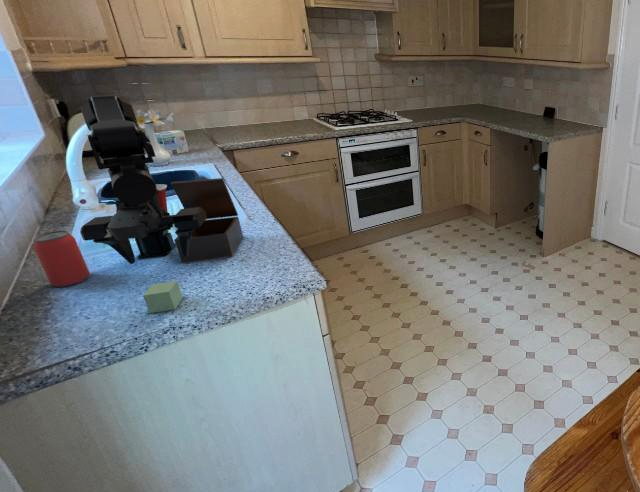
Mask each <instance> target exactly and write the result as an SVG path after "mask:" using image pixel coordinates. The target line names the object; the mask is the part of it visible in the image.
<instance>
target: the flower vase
mask: <svg viewBox="0 0 640 492" xmlns="http://www.w3.org/2000/svg"><path fill="white" fill-rule="evenodd" d="M173 114H174V112H171V113H170V115H169V116H168V117H167V116H163V115H162V111H161V110H159V109H157V110H155V111H153V110H152V109H148V110H147V113H146V112H145V111H142V110H140V109H137V110H136V114H135V116H136V119H137V123H138V127H139V128H140V129H141V130H143V129H144V130H143V131H144V133H145V134H146V135H148V136H149V139H150V142H151V144H152V147H153V150H154V152H155V156H156V157H152V158H153V161H154V162H152V163H150V164H151V165H150V166H153V167H160V166H165V165H168V164H169V161H170V160H171V158H172V155H170V154H169V153H168V152H167V151H165V150H164V149H162V148H161V146H160V145H159V143H158V141H157V138H156V135H155V133H156V132H155V125H157V126H159V127H160V126H161V125H165V122H166V123H167V124H168V125H169V126H170V127H171V129H172V130H173V128H174V127H173V122H174V118H173ZM164 121H165V122H164ZM144 155H145V157H148V156H147V153H146V152H145V154H144Z"/></svg>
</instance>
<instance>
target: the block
mask: <svg viewBox="0 0 640 492" xmlns="http://www.w3.org/2000/svg"><path fill="white" fill-rule="evenodd" d="M142 297H143V301H144V303H145V306H146V308H147V310H148V313H149V314H155V313H160V312H167V311H174V310H176V309H177V308H178V306H179V304H180V303H181V301H183V298H184V297H183V294H182V291H181V289H180V286H179V282H178V281H177V280H175V281H167V282H160V283H152V284H151V285H150V286H149V287H148V289H147V290H146V291H145V292H144V294H142Z"/></svg>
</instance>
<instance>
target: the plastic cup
mask: <svg viewBox="0 0 640 492" xmlns="http://www.w3.org/2000/svg"><path fill="white" fill-rule="evenodd" d="M167 187H168V185H167V184H163V183H161V184H158V183H157V184H156V189H158V190H159V193H160V194H159V195H158V199H159V202H160V205H161V208H165V211H166V212H168V211H169V210H168V202H167ZM168 213H169V212H168Z"/></svg>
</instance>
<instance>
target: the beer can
mask: <svg viewBox="0 0 640 492" xmlns="http://www.w3.org/2000/svg"><path fill="white" fill-rule="evenodd" d="M33 241H34V242H33V250H34V252H35V254H36V256H37V258H38V260H39V262H40V265H41V267H42V269H43V271H44V273H45V275H46V278H47V279H48V282H49V284H50V285H51V286H53V287H57V288H58V287H59V288H61V287H68V286H72V285H76V284H79V283H81V282H84V281H85V280H87V279H88V278H89V276H90V275H91V272H90V270H89V268H88V265H87V263H86V261H85V259H84V256H83V254H82V251H81V249H80V247H79V245H78V242H77V240H76V238H75V237H74V236H73V235H72V234H71V233H70V230H69V231H68V230H63V229H62V230H54V231H53V230H52V231H49V232H44V233H42V234H39V235H37V236H35V237H34V238H33Z"/></svg>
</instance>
